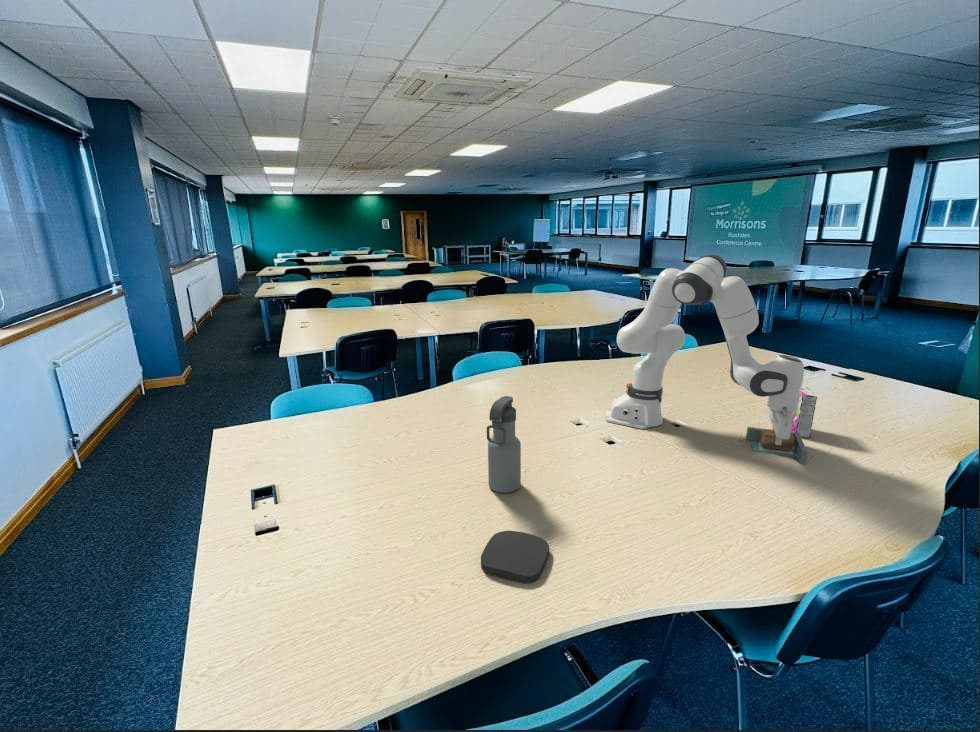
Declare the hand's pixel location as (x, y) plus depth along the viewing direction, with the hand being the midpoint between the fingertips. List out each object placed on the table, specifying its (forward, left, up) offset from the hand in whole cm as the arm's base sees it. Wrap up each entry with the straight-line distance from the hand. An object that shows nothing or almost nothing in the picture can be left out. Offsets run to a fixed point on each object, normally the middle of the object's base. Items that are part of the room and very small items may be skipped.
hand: (776, 440), depth 167 cm
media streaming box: (-65, -85, -4) cm, 107 cm away
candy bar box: (+10, +19, -4) cm, 22 cm away
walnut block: (0, 0, -2) cm, 2 cm away
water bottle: (-79, -55, -4) cm, 97 cm away
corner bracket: (0, -1, -3) cm, 4 cm away
